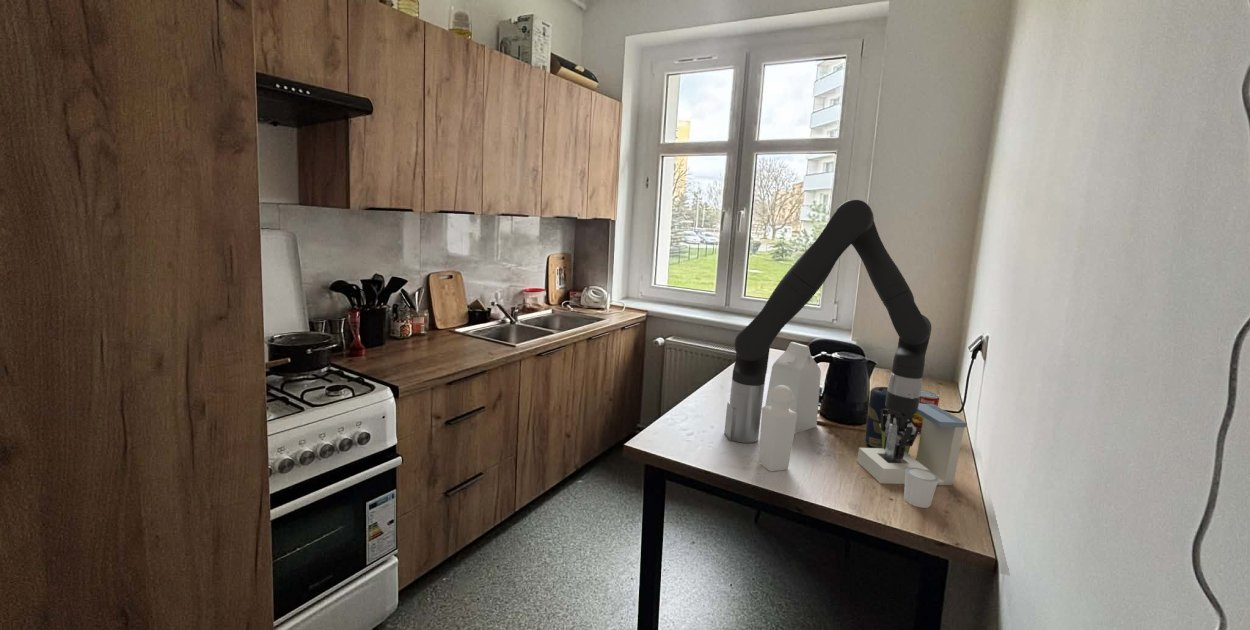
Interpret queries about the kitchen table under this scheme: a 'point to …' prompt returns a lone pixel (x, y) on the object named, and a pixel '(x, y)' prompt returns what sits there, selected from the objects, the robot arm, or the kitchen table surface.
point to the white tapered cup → (919, 487)
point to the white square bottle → (777, 430)
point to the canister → (875, 416)
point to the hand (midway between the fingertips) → (893, 454)
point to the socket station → (922, 450)
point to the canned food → (925, 398)
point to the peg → (891, 445)
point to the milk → (798, 383)
